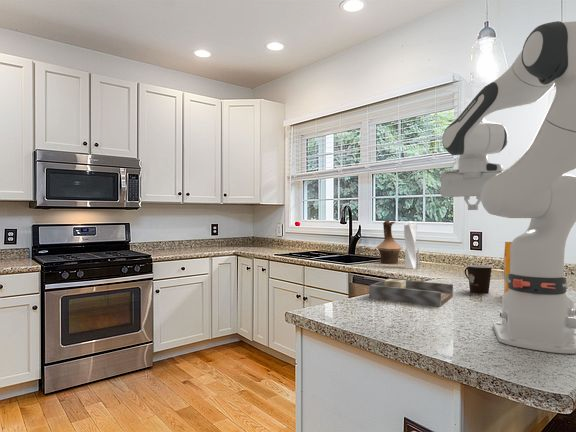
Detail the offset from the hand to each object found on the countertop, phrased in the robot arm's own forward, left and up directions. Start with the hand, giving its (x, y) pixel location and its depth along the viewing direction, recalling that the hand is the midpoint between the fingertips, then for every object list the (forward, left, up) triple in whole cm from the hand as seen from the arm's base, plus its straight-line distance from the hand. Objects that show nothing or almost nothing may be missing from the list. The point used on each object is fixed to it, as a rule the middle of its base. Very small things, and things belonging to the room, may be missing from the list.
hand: (472, 209), depth 127 cm
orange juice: (+20, -12, -31) cm, 39 cm away
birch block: (-1, +26, -30) cm, 39 cm away
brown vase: (+105, +65, -31) cm, 127 cm away
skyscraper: (+85, +45, -32) cm, 101 cm away
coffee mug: (+26, +2, -31) cm, 41 cm away
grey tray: (-1, +20, -31) cm, 37 cm away
